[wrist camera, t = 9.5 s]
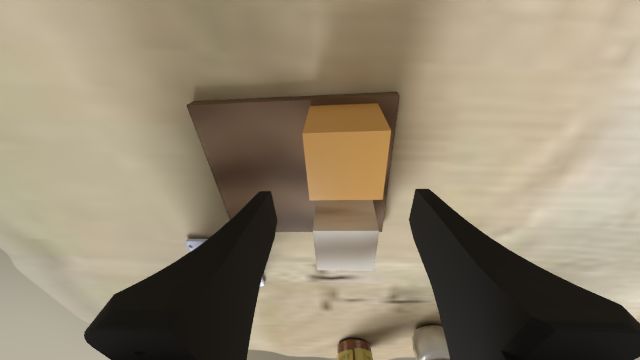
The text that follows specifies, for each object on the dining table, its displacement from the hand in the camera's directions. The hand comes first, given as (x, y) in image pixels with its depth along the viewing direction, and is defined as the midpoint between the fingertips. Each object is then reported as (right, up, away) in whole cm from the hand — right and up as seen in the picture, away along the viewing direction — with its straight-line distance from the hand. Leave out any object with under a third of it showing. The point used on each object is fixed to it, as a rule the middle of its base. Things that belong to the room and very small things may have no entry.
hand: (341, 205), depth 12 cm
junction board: (-3, +2, +10) cm, 11 cm away
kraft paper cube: (+1, +5, +7) cm, 8 cm away
